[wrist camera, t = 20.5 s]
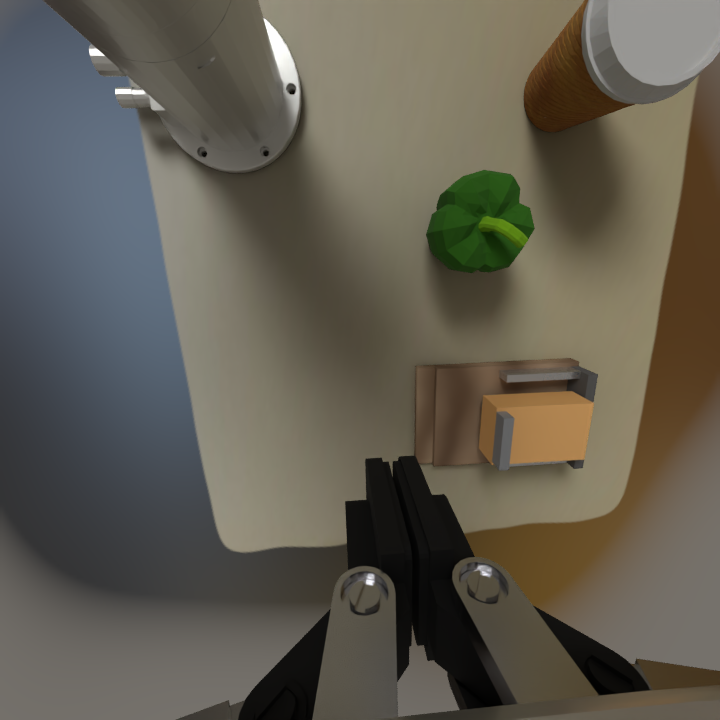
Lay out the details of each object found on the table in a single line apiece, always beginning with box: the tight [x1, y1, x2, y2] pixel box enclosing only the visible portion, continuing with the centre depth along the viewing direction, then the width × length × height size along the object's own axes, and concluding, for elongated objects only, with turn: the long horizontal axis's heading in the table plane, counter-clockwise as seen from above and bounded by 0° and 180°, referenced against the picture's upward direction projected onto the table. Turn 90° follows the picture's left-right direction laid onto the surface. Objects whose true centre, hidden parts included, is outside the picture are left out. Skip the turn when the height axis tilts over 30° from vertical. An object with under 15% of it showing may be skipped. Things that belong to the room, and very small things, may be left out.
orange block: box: [479, 391, 594, 471], centre depth 37 cm, size 10×6×6 cm, turn 91°
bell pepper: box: [426, 170, 535, 273], centre depth 31 cm, size 8×8×10 cm
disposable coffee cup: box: [524, 0, 720, 132], centre depth 27 cm, size 10×10×12 cm
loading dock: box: [415, 358, 598, 469], centre depth 39 cm, size 18×12×4 cm, turn 92°
